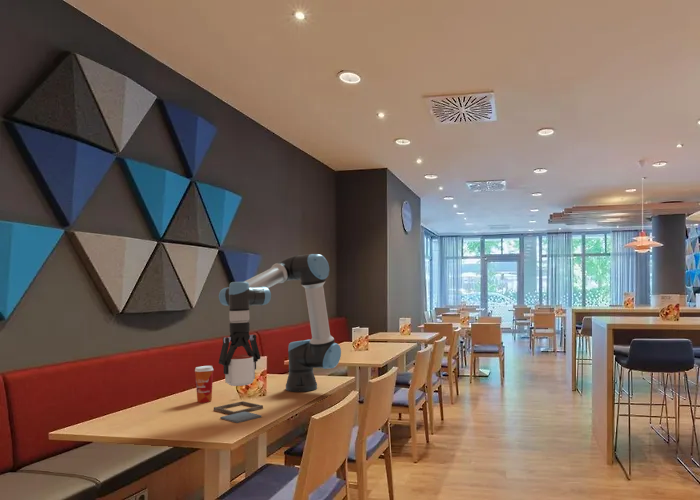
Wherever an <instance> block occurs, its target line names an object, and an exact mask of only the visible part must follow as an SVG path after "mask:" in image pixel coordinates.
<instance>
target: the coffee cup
mask: <svg viewBox="0 0 700 500" xmlns="http://www.w3.org/2000/svg"><path fill="white" fill-rule="evenodd" d="M194 372H195V373H194V374H195V385H196V386H195V388H196V402H197V403H198V404H205V403H211V402H212V400H213V399H212V398H213V378H214V368H213V365H203V366H202V365H201V366H196V367H195V369H194Z"/></svg>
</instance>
